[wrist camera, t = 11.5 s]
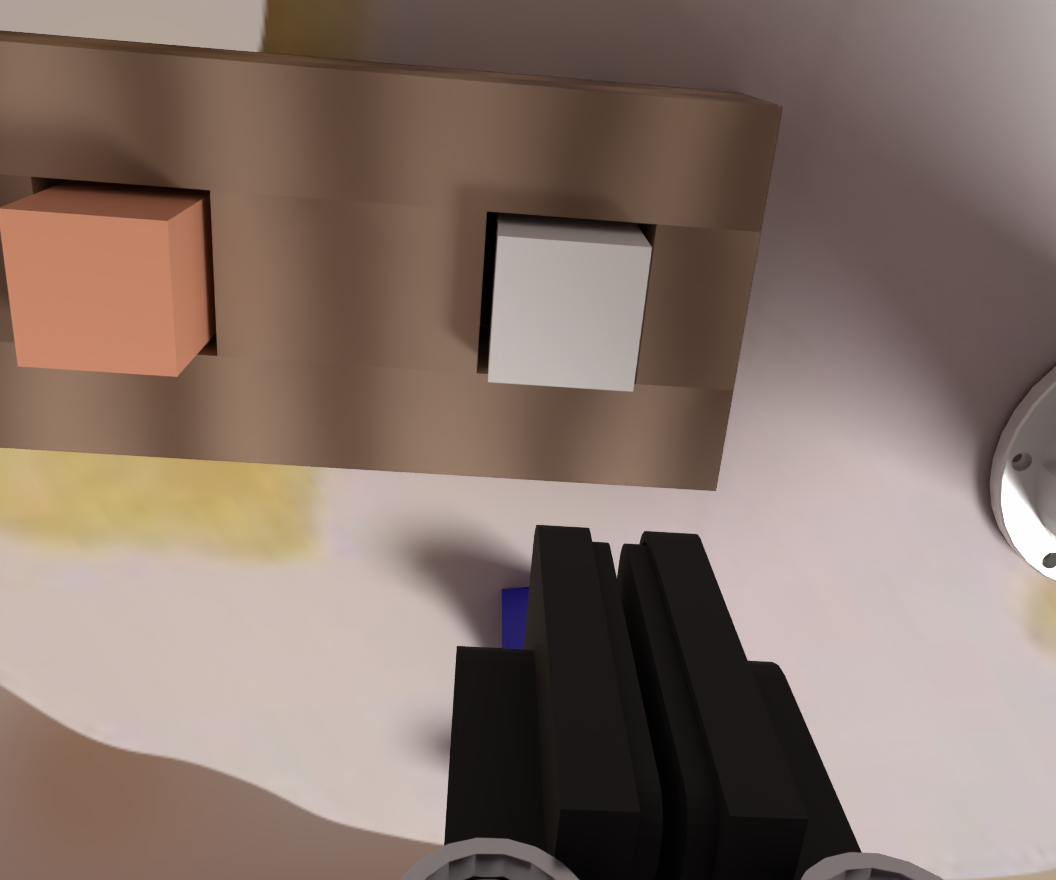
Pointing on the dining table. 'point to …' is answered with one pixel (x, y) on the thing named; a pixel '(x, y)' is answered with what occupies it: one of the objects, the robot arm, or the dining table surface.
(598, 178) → the button box
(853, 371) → the dining table surface
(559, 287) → the white rectangular block
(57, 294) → the terracotta plunger
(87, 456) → the dining table surface
